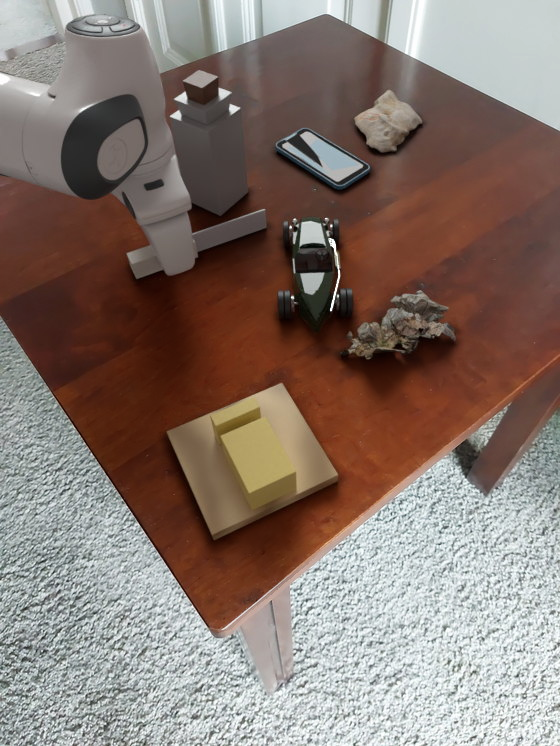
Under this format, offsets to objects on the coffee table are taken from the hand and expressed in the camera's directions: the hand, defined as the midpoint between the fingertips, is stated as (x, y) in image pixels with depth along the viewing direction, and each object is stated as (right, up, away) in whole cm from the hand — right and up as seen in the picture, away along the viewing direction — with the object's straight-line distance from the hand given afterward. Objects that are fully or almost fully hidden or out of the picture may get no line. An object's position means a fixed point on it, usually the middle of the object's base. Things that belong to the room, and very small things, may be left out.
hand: (162, 254), depth 81 cm
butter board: (+13, -25, -17) cm, 33 cm away
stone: (+34, +25, +19) cm, 46 cm away
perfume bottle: (+6, +11, +10) cm, 16 cm away
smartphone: (+23, +18, +14) cm, 32 cm away
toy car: (+20, -4, -2) cm, 21 cm away
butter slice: (+11, -22, -17) cm, 30 cm away
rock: (+30, -11, -7) cm, 33 cm away
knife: (+5, +1, +3) cm, 6 cm away
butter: (+14, -26, -19) cm, 36 cm away
